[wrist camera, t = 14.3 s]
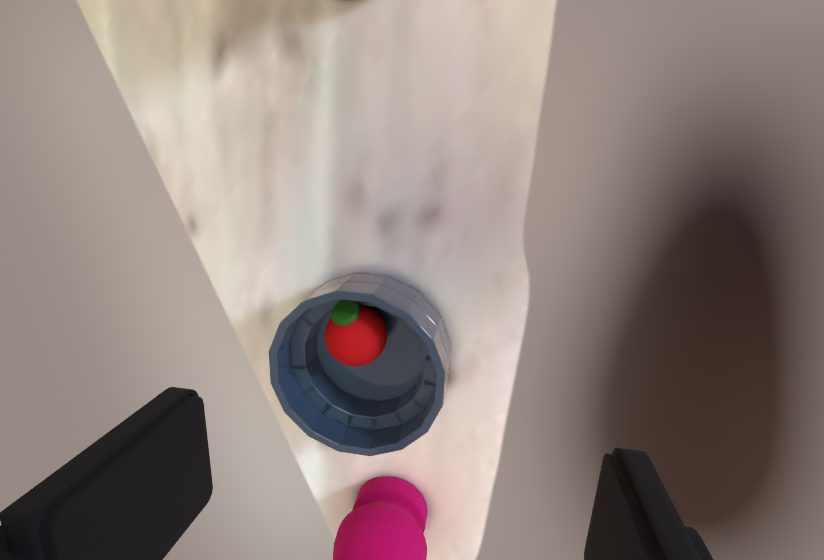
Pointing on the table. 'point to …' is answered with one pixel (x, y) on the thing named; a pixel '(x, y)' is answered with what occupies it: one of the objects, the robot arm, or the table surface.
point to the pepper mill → (384, 523)
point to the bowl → (363, 369)
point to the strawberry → (355, 333)
